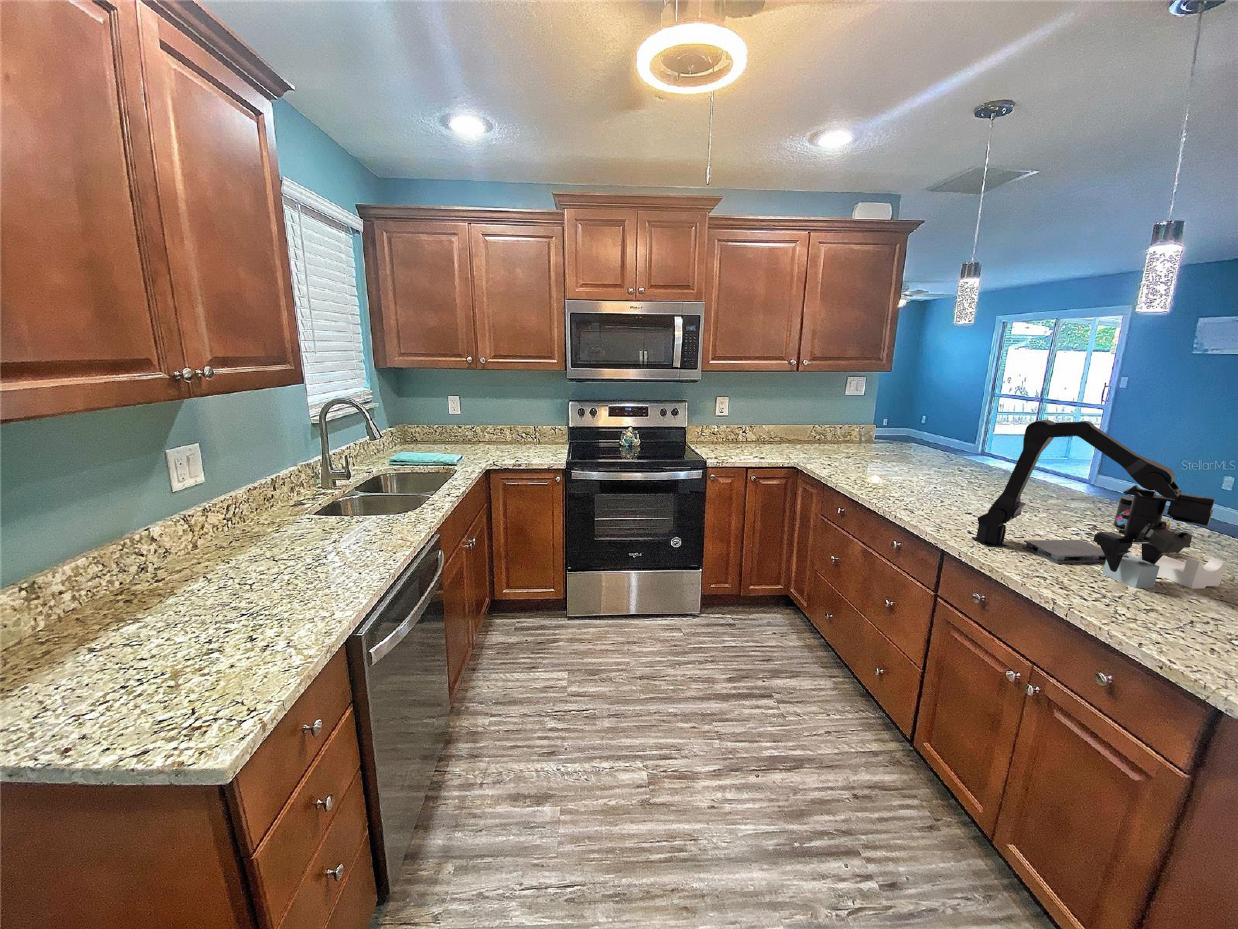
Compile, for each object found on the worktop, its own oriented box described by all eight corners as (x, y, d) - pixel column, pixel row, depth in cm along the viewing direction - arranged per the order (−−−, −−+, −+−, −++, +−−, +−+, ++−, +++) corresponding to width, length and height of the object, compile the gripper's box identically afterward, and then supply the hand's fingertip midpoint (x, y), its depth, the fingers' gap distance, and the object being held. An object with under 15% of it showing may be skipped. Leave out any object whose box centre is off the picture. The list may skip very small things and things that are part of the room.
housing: (1135, 588, 122) (1141, 565, 120) (1102, 574, 129) (1108, 552, 128) (1153, 588, 122) (1160, 565, 120) (1119, 573, 130) (1125, 552, 128)
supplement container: (1107, 525, 167) (1114, 496, 165) (1122, 524, 168) (1130, 495, 166) (1130, 532, 161) (1138, 502, 158) (1146, 531, 162) (1154, 501, 159)
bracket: (1217, 589, 122) (1227, 562, 120) (1190, 589, 122) (1199, 562, 120) (1160, 567, 135) (1168, 542, 133) (1136, 567, 135) (1143, 541, 133)
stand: (1056, 563, 135) (1058, 555, 135) (1022, 548, 146) (1024, 540, 145) (1115, 562, 136) (1117, 554, 136) (1077, 547, 147) (1079, 539, 146)
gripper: (1148, 526, 113) (1130, 586, 117) (1219, 525, 114) (1200, 585, 118) (1098, 510, 124) (1084, 566, 127) (1164, 510, 125) (1148, 565, 129)
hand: (1129, 571), depth 125 cm, fingers open, 9 cm apart
